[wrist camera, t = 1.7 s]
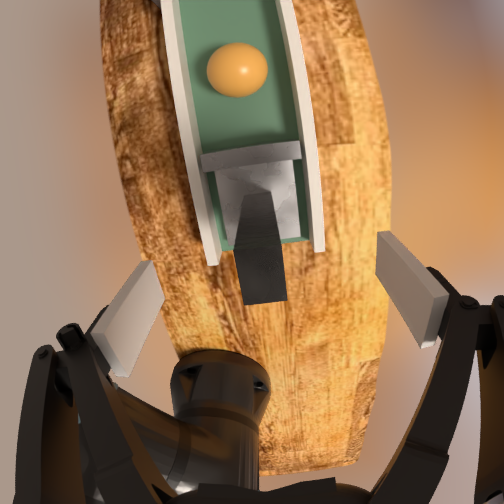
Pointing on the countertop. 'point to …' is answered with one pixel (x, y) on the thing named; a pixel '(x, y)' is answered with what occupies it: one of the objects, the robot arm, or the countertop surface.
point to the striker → (258, 211)
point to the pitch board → (241, 103)
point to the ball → (237, 70)
